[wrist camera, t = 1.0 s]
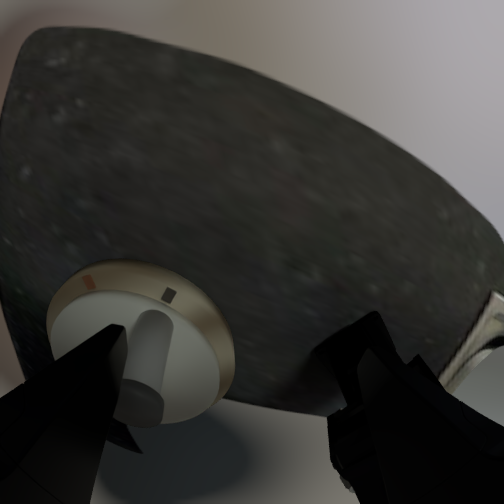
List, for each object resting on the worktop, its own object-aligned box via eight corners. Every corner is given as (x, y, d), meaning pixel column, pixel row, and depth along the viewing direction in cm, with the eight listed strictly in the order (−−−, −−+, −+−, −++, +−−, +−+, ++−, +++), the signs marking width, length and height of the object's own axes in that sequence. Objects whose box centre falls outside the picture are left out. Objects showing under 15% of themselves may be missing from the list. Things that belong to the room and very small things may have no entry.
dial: (255, 379, 21) (267, 466, 14) (143, 426, 23) (132, 492, 16) (125, 249, 16) (66, 332, 9) (33, 338, 18) (-7, 402, 11)
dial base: (271, 361, 24) (275, 378, 22) (147, 418, 26) (144, 432, 24) (136, 213, 18) (126, 223, 16) (31, 320, 20) (21, 333, 18)
